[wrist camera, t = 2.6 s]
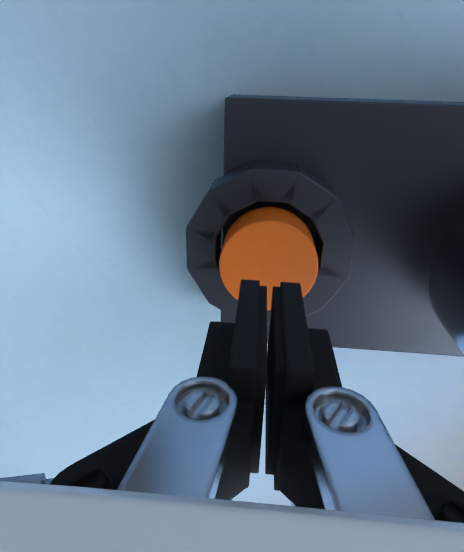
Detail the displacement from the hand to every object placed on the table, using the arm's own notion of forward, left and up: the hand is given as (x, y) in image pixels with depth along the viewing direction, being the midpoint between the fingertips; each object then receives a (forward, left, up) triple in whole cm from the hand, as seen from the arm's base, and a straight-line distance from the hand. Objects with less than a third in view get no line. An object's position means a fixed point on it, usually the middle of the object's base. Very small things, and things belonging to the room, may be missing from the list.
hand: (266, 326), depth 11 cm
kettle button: (0, 0, -5) cm, 5 cm away
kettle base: (0, +6, -10) cm, 11 cm away
